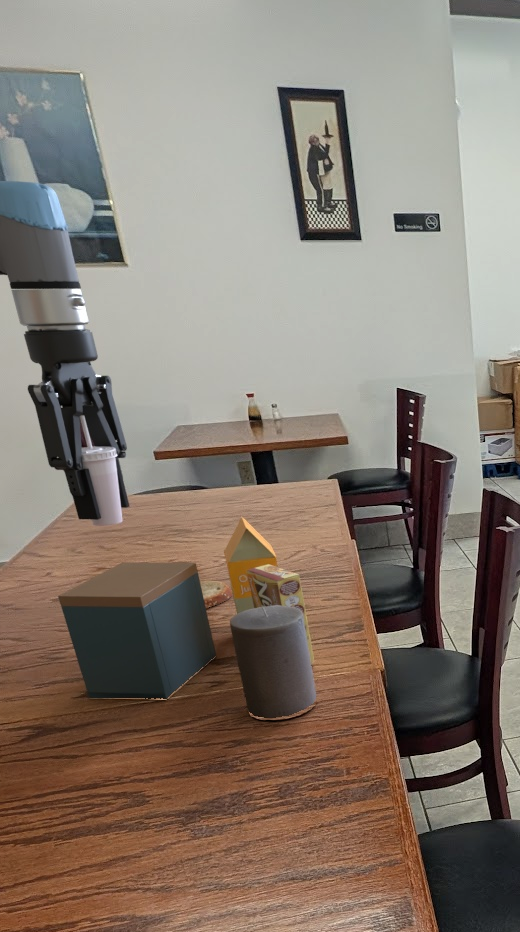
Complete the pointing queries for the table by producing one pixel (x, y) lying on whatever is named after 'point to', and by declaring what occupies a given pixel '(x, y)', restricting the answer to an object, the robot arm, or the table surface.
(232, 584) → the orange juice
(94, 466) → the smoothie
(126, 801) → the table surface
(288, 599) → the candy box
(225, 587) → the slice of bread
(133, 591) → the lidded gift box
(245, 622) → the pillar candle
